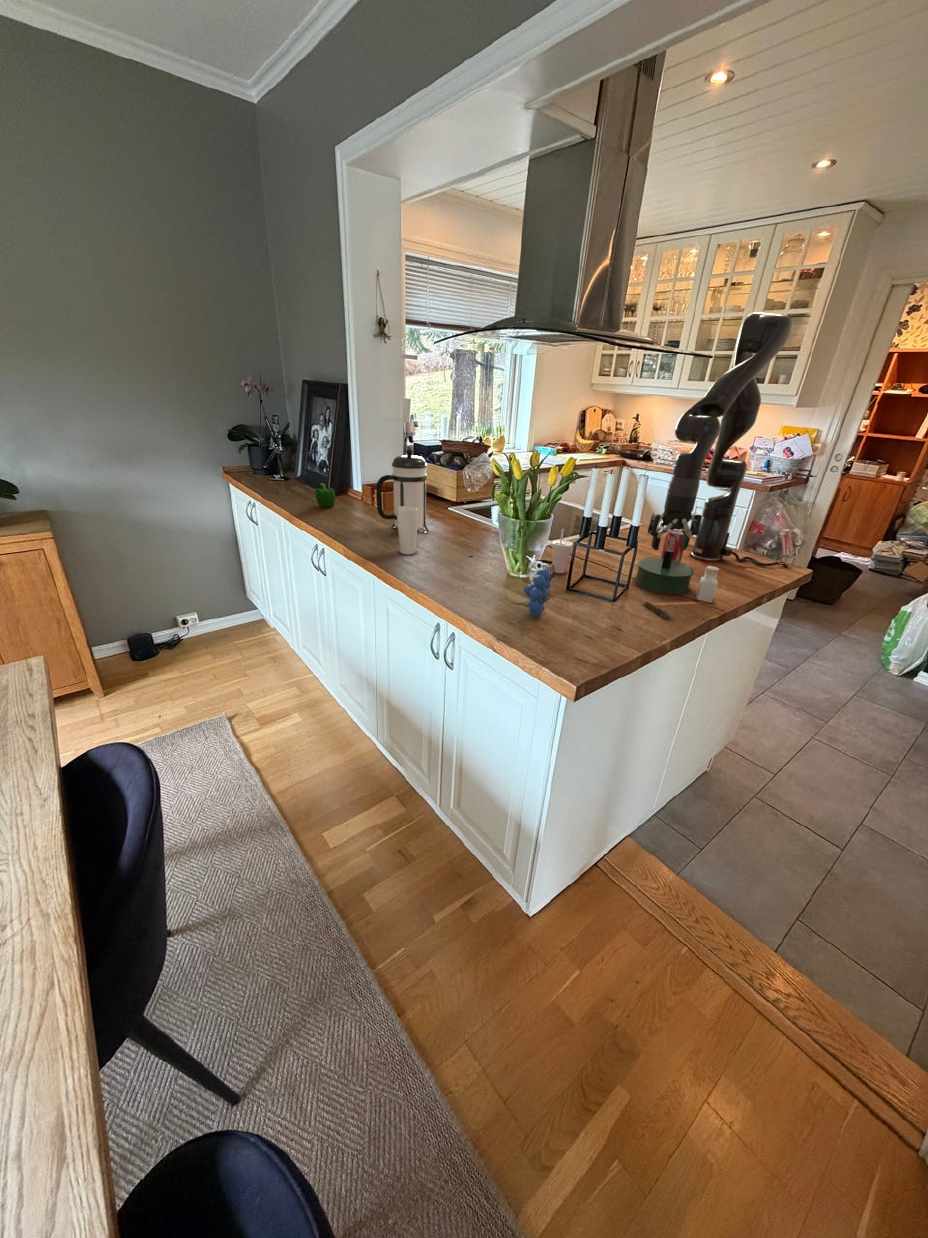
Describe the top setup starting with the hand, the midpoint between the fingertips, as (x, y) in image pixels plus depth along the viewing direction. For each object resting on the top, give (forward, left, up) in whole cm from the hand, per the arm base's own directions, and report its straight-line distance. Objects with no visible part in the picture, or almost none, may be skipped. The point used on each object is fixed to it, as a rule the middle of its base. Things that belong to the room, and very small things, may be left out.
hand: (668, 549), depth 140 cm
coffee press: (+73, -59, -11) cm, 94 cm away
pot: (0, 0, -11) cm, 11 cm away
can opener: (+11, +18, -11) cm, 24 cm away
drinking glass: (+74, -33, -11) cm, 82 cm away
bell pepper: (+107, -97, -11) cm, 145 cm away
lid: (0, 0, -6) cm, 6 cm away
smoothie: (+28, -12, -11) cm, 32 cm away
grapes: (+44, +16, -11) cm, 48 cm away
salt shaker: (-7, +11, -11) cm, 17 cm away
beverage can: (-11, -15, -11) cm, 22 cm away
